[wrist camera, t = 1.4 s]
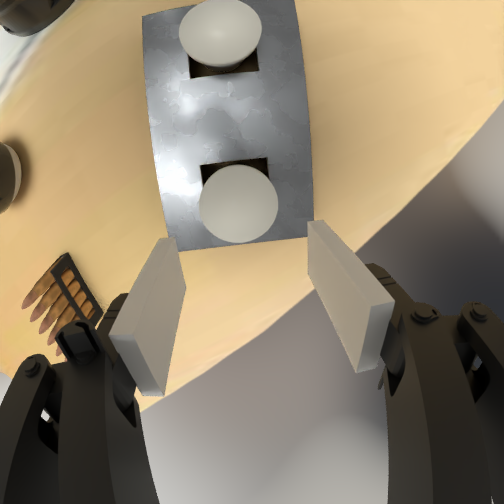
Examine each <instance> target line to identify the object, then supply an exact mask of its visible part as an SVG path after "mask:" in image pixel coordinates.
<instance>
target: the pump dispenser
mask: <svg viewBox="0 0 504 504" xmlns="http://www.w3.org/2000/svg"><path fill="white" fill-rule="evenodd" d="M21 175H22V172H21V164H20V161H19V158H18V156H17V154H16V152H15V151H14V150H13V149H12V148H11V147H10V146H8V145H6V144H4V143H2V142H0V214H2V213H3V212H5V211H6V210H7V209H8V207H9V206H10V204H11V203H12V202H13V200H14V199H15V197H16V195H17V193H18V191H19V188H20V184H21Z"/></svg>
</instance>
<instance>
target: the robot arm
mask: <svg viewBox="0 0 504 504" xmlns="http://www.w3.org/2000/svg"><path fill="white" fill-rule="evenodd" d="M73 1H74V0H0V25H2V26H3V28H4V29H5V30H6V31H7V32H8V33H10V34H13V35H17V36H28V35H31V34H34V33H36V32H38V31H40V30H41V29H43V28H45V27H46V26H47V25H49V24H50V23H51V22H53V21H54V20H55V19H56V18H57V17H59V16H60V15H61V14H62V13H63V12H64V11H65V10H66V9H67V8H68V7H69V6H70V4H71V3H72V2H73ZM307 226H308V275H309V277H310V279H311V281H312V283H313V285H314V287H315V289H316V290H317V293H318V295H319V296H320V298H321V301H322V303H323V305H324V307H325V309H326V311H327V313H328V315H329V317H330V319H331V321H332V323H333V325H334V328H335V329H336V332H337V334H338V336H339V338H340V340H341V342H342V344H343V347H344V349H345V351H346V353H347V355H348V357H349V359H350V362H351V364H352V366H353V368H354V371H355V373H359V372H363V371H367V370H371V369H374V368H377V365H378V362H379V359H380V356H381V357H382V359H383V361H384V363H385V364H386V365H385V368H384V371H383V373H382V376H381V379H380V381H379V384H378V389H381V387H382V385H383V383H384V389H385V399H386V411H387V425H388V449H389V482H388V504H492V500H491V496H492V499H493V502H494V504H504V323H503V322H502V321H501V320H500V319H499V318H498V317H497V315H496V314H495V313H494V312H493V311H492V310H491V309H490V308H488V307H487V306H486V305H484V304H482V303H480V302H474V301H473V302H467V303H465V304H464V305H463V307H462V309H461V311H460V314H459V315H455V316H454V315H453V316H442V315H441V314H440V312H439V311H438V310H437V309H436V308H434V307H433V306H431V305H429V304H426V303H419V302H416V303H415V302H414V301H413V300H412V299H411V298H410V296H409V295H408V294H407V293H406V292H405V291H404V290H403V289H402V288H401V286H400V285H399V284H397V283H396V281H395V280H394V279H393V278H391V276H390V275H389V274H388V273H387V271H386V270H385V269H383V268H382V267H380V266H378V265H376V264H374V263H372V264H365V265H364V264H363V263H362V262H361V261H360V259H359V258H358V257H357V256H356V255H355V254H354V253H353V251H352V250H351V249H350V248H349V247H348V246H347V245H346V244H345V243H344V242H343V241H342V239H341V238H340V237H339V236H338V235H337V234H336V233H335V232H334V231H333V230H332V229H331V228H330V227H329V226H328V225H327V224H326V223H325V222H324V220H317V221H307ZM185 291H186V284H185V280H184V276H183V272H182V267H181V263H180V259H179V254H178V250H177V245H176V240H175V237H170V238H162V239H159V240H158V242H157V244H156V245H155V247H154V249H153V251H152V252H151V254H150V256H149V258H148V259H147V261H146V263H145V265H144V266H143V268H142V270H141V272H140V274H139V276H138V277H137V279H136V281H135V283H134V285H133V287H132V289H131V290H130V292H129V293H123V294H120V295H119V296H118V297H117V298H115V299H114V300H113V301H112V302H111V304H110V306H109V308H108V310H107V312H106V313H105V315H104V317H103V319H102V321H101V322H100V324H99V326H98V328H97V330H96V329H95V327H94V325H93V324H92V323H91V322H90V321H89V320H85V319H80V320H75V321H72V322H69V323H68V324H66V325H65V326H63V327H62V328H61V329H60V330H59V331H58V332H57V334H56V336H55V338H54V339H55V340H56V342H57V344H58V345H59V347H60V349H61V350H62V352H63V354H64V355H65V357H66V358H67V362H62V363H57V364H53V365H51V364H50V362H49V361H48V359H47V358H46V357H45V356H44V355H42V354H35V355H32V356H29V357H27V358H26V359H25V360H24V361H23V362H22V364H21V365H20V366H19V368H18V370H17V372H16V374H15V376H14V378H13V380H12V382H11V384H10V386H9V388H8V390H7V392H6V394H5V396H4V399H3V401H2V403H1V406H0V504H160V503H159V500H158V496H157V493H156V489H155V485H154V482H153V478H152V474H151V469H150V465H149V461H148V456H147V451H146V446H145V441H144V435H143V430H142V424H141V417H140V411H139V405H138V402H137V400H136V398H135V397H134V393H135V389H136V386H137V387H138V389H139V391H140V392H141V394H142V395H143V396H164V395H165V389H166V383H167V378H168V372H169V367H170V361H171V356H172V351H173V346H174V341H175V336H176V332H177V327H178V322H179V318H180V313H181V309H182V304H183V300H184V295H185ZM478 356H479V358H480V359H481V361H482V364H481V365H480V367H479V368H476V367H475V366H474V365H473V364H474V362H475V360H476V358H477V357H478ZM43 409H44V411H45V412H46V413H47V414H49V416H50V417H49V420H48V421H45V420H44V419H43V418H42V417H41V414H42V411H43Z"/></svg>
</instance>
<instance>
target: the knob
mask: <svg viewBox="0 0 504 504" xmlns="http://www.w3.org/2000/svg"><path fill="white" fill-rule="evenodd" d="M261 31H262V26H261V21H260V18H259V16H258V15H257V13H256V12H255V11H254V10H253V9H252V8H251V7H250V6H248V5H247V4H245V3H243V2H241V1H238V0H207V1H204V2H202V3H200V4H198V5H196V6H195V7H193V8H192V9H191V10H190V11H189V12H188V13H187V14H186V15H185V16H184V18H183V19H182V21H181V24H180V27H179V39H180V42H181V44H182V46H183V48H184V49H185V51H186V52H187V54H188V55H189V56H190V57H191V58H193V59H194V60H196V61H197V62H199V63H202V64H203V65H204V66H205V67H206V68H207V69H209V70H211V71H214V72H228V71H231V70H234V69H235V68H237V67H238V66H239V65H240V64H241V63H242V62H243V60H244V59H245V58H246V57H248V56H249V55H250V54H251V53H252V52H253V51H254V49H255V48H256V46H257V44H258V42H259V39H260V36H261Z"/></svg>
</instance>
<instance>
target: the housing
mask: <svg viewBox="0 0 504 504" xmlns="http://www.w3.org/2000/svg"><path fill="white" fill-rule="evenodd" d="M238 1H241V2H243V3H245V4H247V5H248V6H250V7H251V8H252V9H253V10H254V11H255V12H256V13H257V15H258V16H259V18H260V21H261V26H262V31H261V36H260V39H259V42H258V44H257V46H256V57H257V66H258V71H255V72H241V73H230V74H221V75H213V76H206V77H199V78H193V79H191V72H190V61H189V55H188V54H187V52H186V51H185V49H184V48H183V46H182V44H181V42H180V39H179V27H180V24H181V21H182V19H183V18H184V16H185V15H186V14H187V13H188V12H189V11H190V10H191V9H192V8H193V7H195V6H196V5H191V6H186V7H180V8H175V9H170V10H166V11H161V12H157V13H153V14H149V15H146V16H142V33H143V57H144V73H145V85H146V96H147V106H148V116H149V124H150V132H151V140H152V147H153V154H154V160H155V167H156V173H157V179H158V185H159V190H160V196H161V201H162V207H163V212H164V217H165V222H166V227H167V231H168V236H169V238H170V237H175V240H176V245H177V250H178V252H181V251H189V250H197V249H206V248H214V247H223V246H231V245H240V244H248V243H257V242H266V241H274V240H283V239H292V238H301V237H308V226H307V221H314V214H313V178H312V157H311V139H310V125H309V112H308V101H307V90H306V80H305V71H304V63H303V55H302V47H301V40H300V33H299V26H298V20H297V14H296V8H295V2H294V0H238ZM255 158H266V160H267V172H268V179H269V181H270V182H271V183H272V185H273V186H274V188H275V191H276V193H277V197H278V211H277V215H276V218H275V220H274V222H273V224H272V226H271V227H270V228H269V229H268V230H267V231H266V232H265V233H264V234H263V235H262V236H260V237H258V238H256V239H254V240H252V241H248V242H243V243H232V242H227V241H224V240H222V239H220V238H218V237H216V236H214V235H213V234H212V233H211V232H210V231H209V230H208V229H207V228H206V226H205V225H204V223H203V221H202V219H201V217H200V213H199V198H200V194H201V191H202V189H203V187H204V184H203V177H202V170H201V165H204V164H211V163H219V162H227V161H236V160H245V159H255Z"/></svg>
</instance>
